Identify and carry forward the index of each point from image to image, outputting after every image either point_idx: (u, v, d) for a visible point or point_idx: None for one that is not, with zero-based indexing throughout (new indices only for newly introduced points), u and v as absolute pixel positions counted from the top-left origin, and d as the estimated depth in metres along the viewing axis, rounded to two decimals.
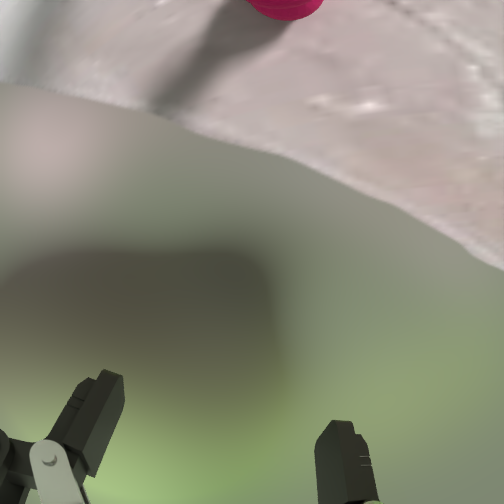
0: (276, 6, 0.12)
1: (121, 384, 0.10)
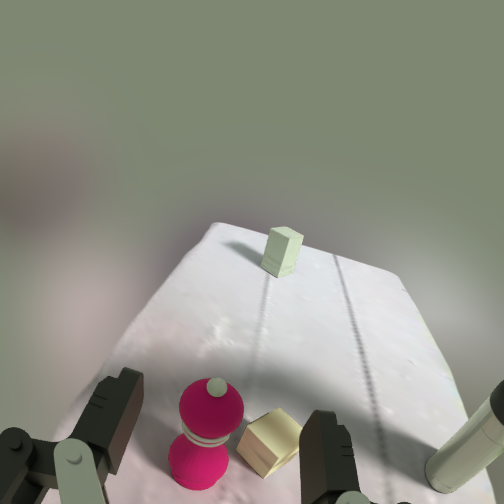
0: (181, 403, 0.25)
1: (141, 382, 0.10)
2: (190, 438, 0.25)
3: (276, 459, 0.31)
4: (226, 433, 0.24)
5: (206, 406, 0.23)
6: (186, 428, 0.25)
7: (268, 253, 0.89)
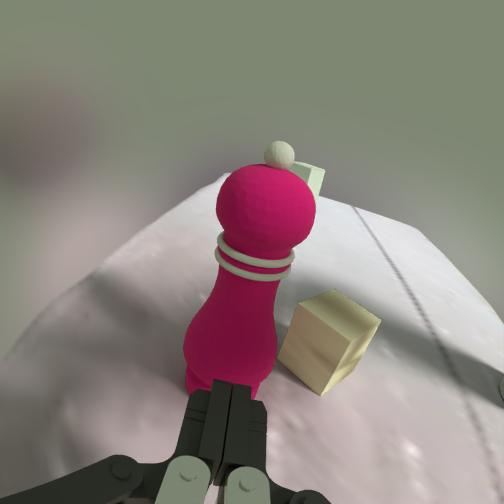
0: (221, 189, 0.17)
1: None
2: (229, 265, 0.18)
3: (346, 346, 0.23)
4: (295, 231, 0.17)
5: (266, 175, 0.16)
6: (224, 246, 0.18)
7: None
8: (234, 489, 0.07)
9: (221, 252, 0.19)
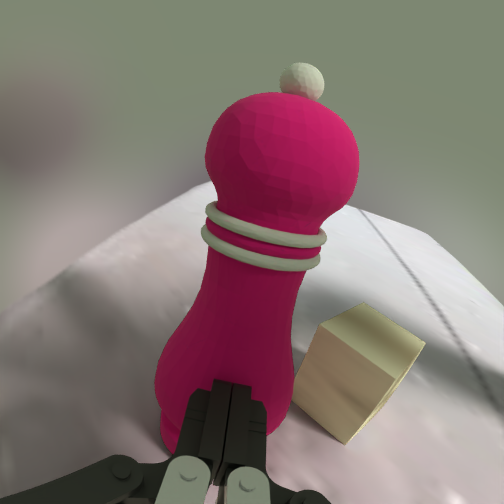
0: (215, 124, 0.11)
1: None
2: (225, 244, 0.11)
3: (388, 385, 0.15)
4: (337, 180, 0.10)
5: (286, 95, 0.09)
6: (216, 212, 0.11)
7: None
8: (234, 489, 0.07)
9: (211, 225, 0.11)
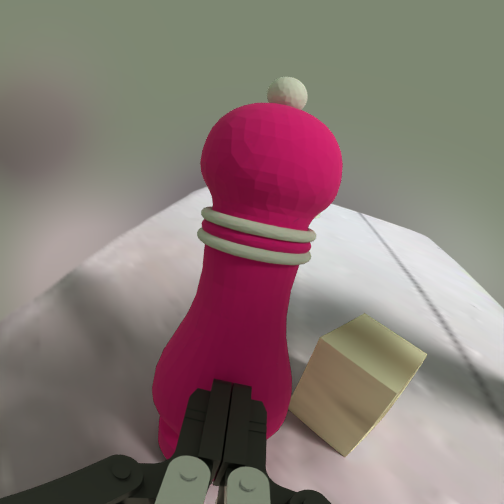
0: (209, 133, 0.12)
1: None
2: (219, 239, 0.11)
3: (389, 399, 0.15)
4: (320, 175, 0.10)
5: (272, 104, 0.11)
6: (211, 211, 0.12)
7: None
8: (234, 489, 0.07)
9: (207, 224, 0.12)
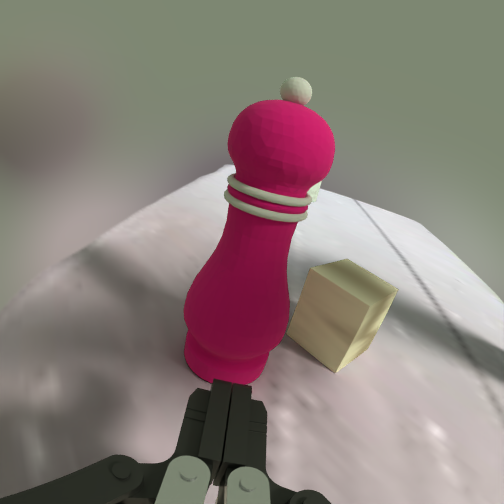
0: (234, 121, 0.15)
1: None
2: (240, 202, 0.16)
3: (364, 312, 0.21)
4: (314, 161, 0.14)
5: (282, 104, 0.14)
6: (235, 181, 0.16)
7: None
8: (234, 489, 0.07)
9: (231, 190, 0.17)
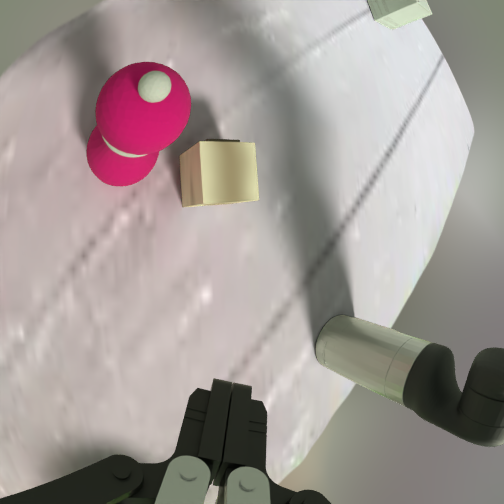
0: (105, 83, 0.14)
1: None
2: None
3: (201, 202, 0.29)
4: (133, 153, 0.17)
5: (122, 106, 0.14)
6: None
7: None
8: (234, 489, 0.07)
9: None
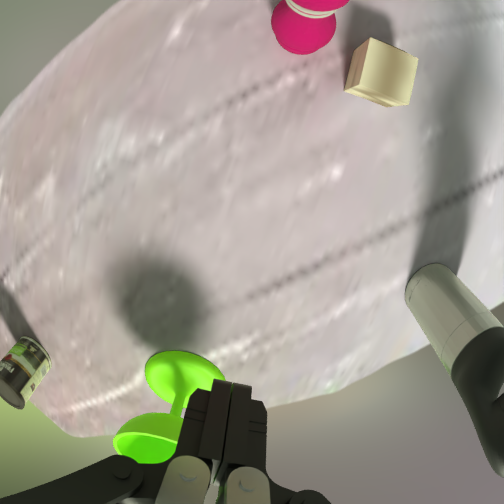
0: None
1: None
2: None
3: (357, 83, 0.28)
4: (302, 5, 0.17)
5: None
6: None
7: None
8: (234, 489, 0.07)
9: None
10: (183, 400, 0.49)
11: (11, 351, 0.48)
